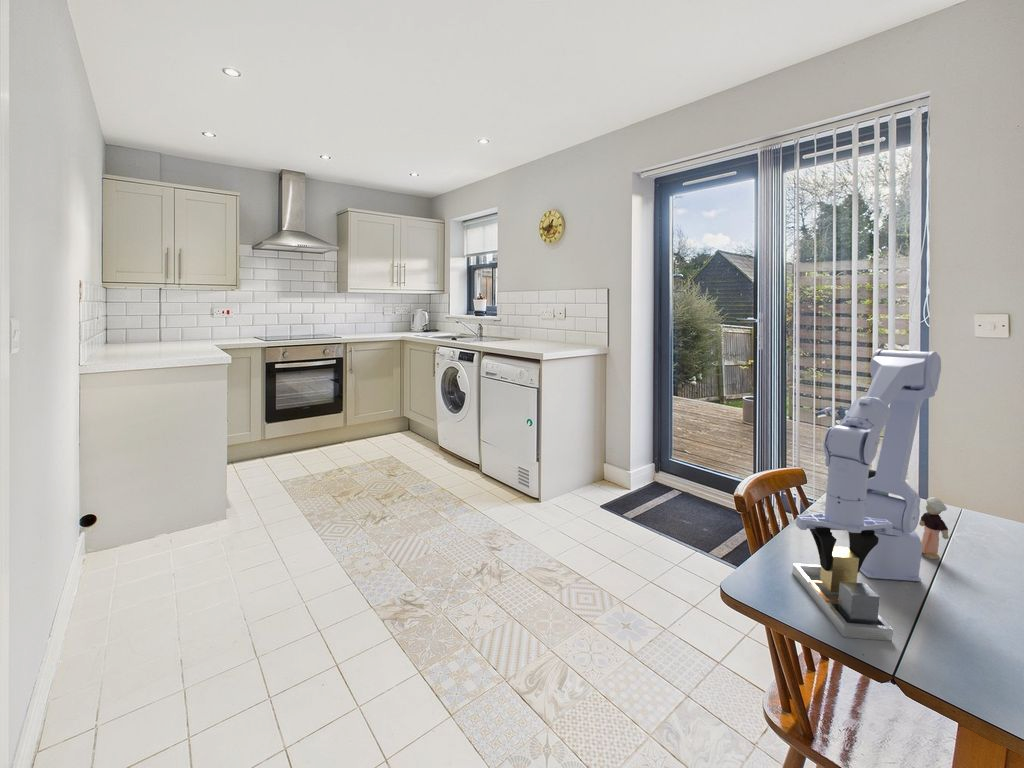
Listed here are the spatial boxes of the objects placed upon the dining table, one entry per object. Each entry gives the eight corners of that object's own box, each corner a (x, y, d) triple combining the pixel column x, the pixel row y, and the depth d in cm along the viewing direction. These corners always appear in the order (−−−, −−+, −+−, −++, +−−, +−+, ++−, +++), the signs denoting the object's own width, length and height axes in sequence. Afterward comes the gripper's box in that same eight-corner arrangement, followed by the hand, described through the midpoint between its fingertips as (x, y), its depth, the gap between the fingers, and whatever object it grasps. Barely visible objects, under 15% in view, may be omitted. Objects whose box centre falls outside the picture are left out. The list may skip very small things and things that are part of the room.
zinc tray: (830, 575, 97) (831, 564, 97) (891, 641, 78) (893, 628, 77) (792, 572, 98) (793, 562, 98) (843, 637, 79) (844, 624, 78)
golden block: (843, 581, 89) (847, 547, 88) (855, 593, 85) (859, 558, 85) (819, 579, 90) (822, 545, 89) (830, 591, 86) (833, 556, 85)
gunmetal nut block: (862, 619, 83) (865, 583, 82) (876, 634, 79) (879, 596, 78) (836, 617, 84) (839, 581, 83) (848, 632, 80) (852, 594, 79)
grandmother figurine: (905, 547, 109) (911, 492, 107) (921, 546, 109) (927, 491, 107) (937, 564, 101) (944, 505, 99) (955, 564, 101) (962, 504, 100)
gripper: (810, 501, 82) (804, 577, 84) (907, 506, 80) (898, 584, 82) (793, 487, 89) (788, 557, 91) (881, 490, 87) (874, 563, 89)
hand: (839, 569), depth 87 cm, fingers closed on golden block, 4 cm apart
